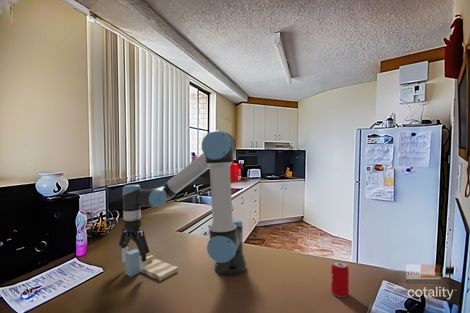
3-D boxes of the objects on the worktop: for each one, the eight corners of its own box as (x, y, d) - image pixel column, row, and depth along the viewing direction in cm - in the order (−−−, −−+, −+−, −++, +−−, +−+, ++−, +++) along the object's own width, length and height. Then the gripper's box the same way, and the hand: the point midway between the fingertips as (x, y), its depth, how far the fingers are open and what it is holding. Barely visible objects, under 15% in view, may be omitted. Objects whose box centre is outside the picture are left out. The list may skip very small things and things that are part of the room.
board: (177, 271, 114) (177, 267, 114) (160, 280, 106) (160, 276, 106) (151, 260, 126) (151, 256, 126) (133, 268, 118) (133, 264, 118)
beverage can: (343, 289, 100) (344, 260, 99) (351, 298, 94) (351, 267, 93) (328, 289, 100) (328, 260, 99) (335, 298, 93) (335, 267, 93)
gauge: (154, 265, 121) (154, 245, 120) (130, 276, 110) (130, 254, 110) (149, 263, 123) (149, 243, 123) (125, 274, 112) (125, 252, 112)
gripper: (156, 220, 108) (158, 268, 109) (124, 213, 123) (126, 255, 123) (141, 224, 102) (143, 275, 103) (109, 217, 116) (111, 261, 117)
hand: (133, 264), depth 113 cm, fingers open, 13 cm apart
